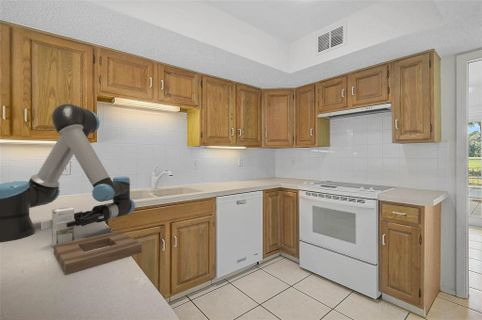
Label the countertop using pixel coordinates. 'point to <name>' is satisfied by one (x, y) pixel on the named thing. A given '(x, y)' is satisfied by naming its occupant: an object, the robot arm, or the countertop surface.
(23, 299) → the countertop surface
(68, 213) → the syrup box
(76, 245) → the hole board
